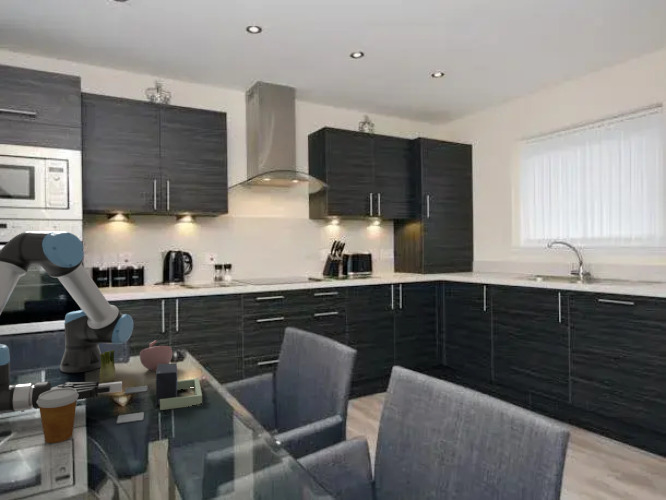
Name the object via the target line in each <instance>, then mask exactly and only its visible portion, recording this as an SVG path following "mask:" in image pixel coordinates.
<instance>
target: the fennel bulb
mask: <svg viewBox="0 0 666 500" xmlns="http://www.w3.org/2000/svg"><path fill="white" fill-rule="evenodd" d="M100 356H101V367H100V368H99V369H100V370H99V384H102V383H111V382H116V365H115V350H107V351H104V352H103V353H102V352H101V354H100Z"/></svg>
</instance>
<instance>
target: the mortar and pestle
mask: <svg viewBox="0 0 666 500" xmlns="http://www.w3.org/2000/svg"><path fill="white" fill-rule="evenodd" d="M157 343H158V341H157V340H154V341H152V342H150V343H149V345H148V346H149V347H146V348H143V349H141V351H140V352H139V360H140V364H141V365H143V367H144V368H145V369H147V370H150V371H157V367H158V364H171V363H170V362H171V361H172V358H173V349H172V347H171V346H169V345H158V346H156V345H155V344H157Z"/></svg>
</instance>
